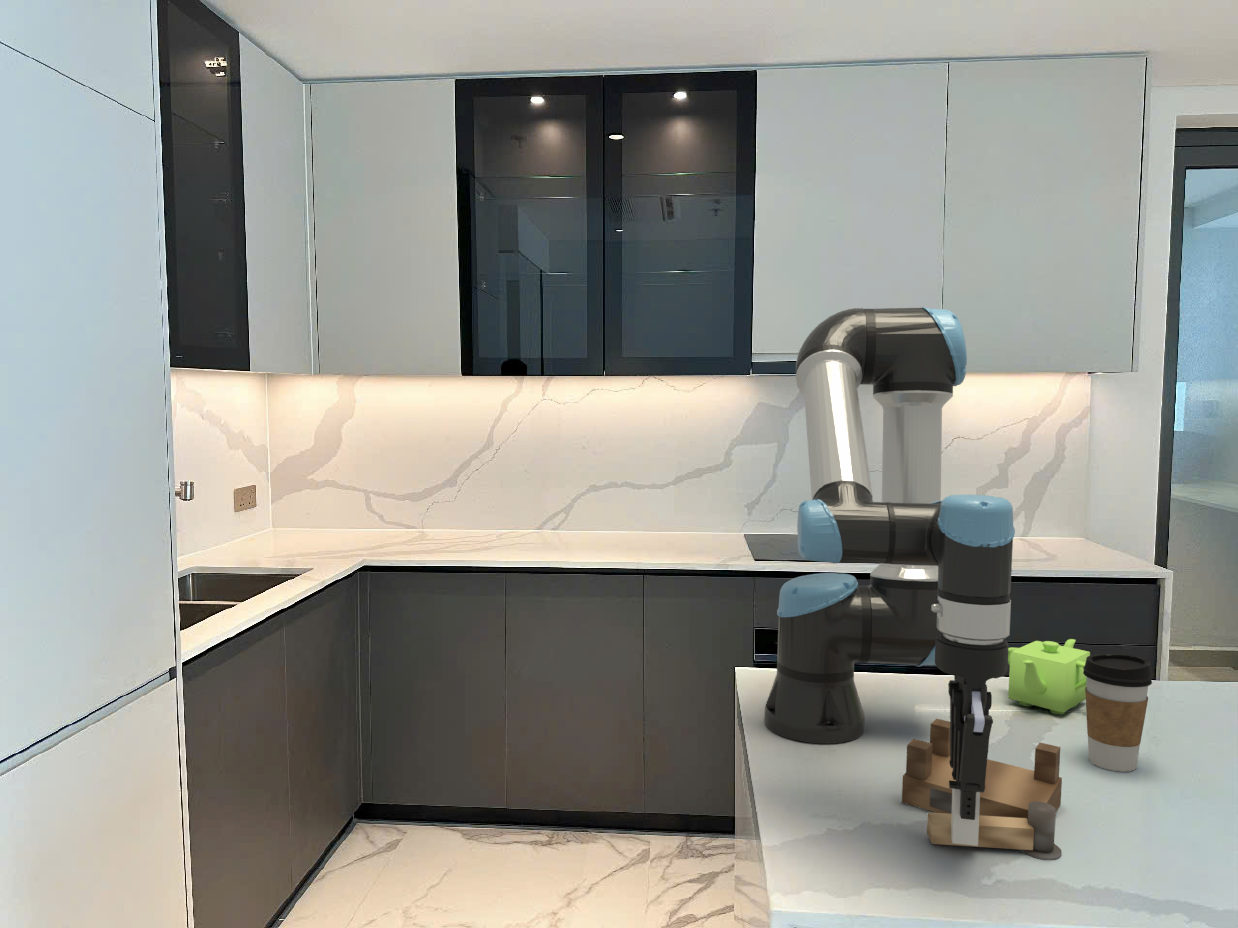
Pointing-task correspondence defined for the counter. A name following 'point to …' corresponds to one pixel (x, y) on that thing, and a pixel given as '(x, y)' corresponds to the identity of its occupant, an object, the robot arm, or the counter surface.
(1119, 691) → the coffee cup
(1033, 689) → the teapot
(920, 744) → the stool top
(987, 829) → the hinged leg
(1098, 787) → the counter surface
